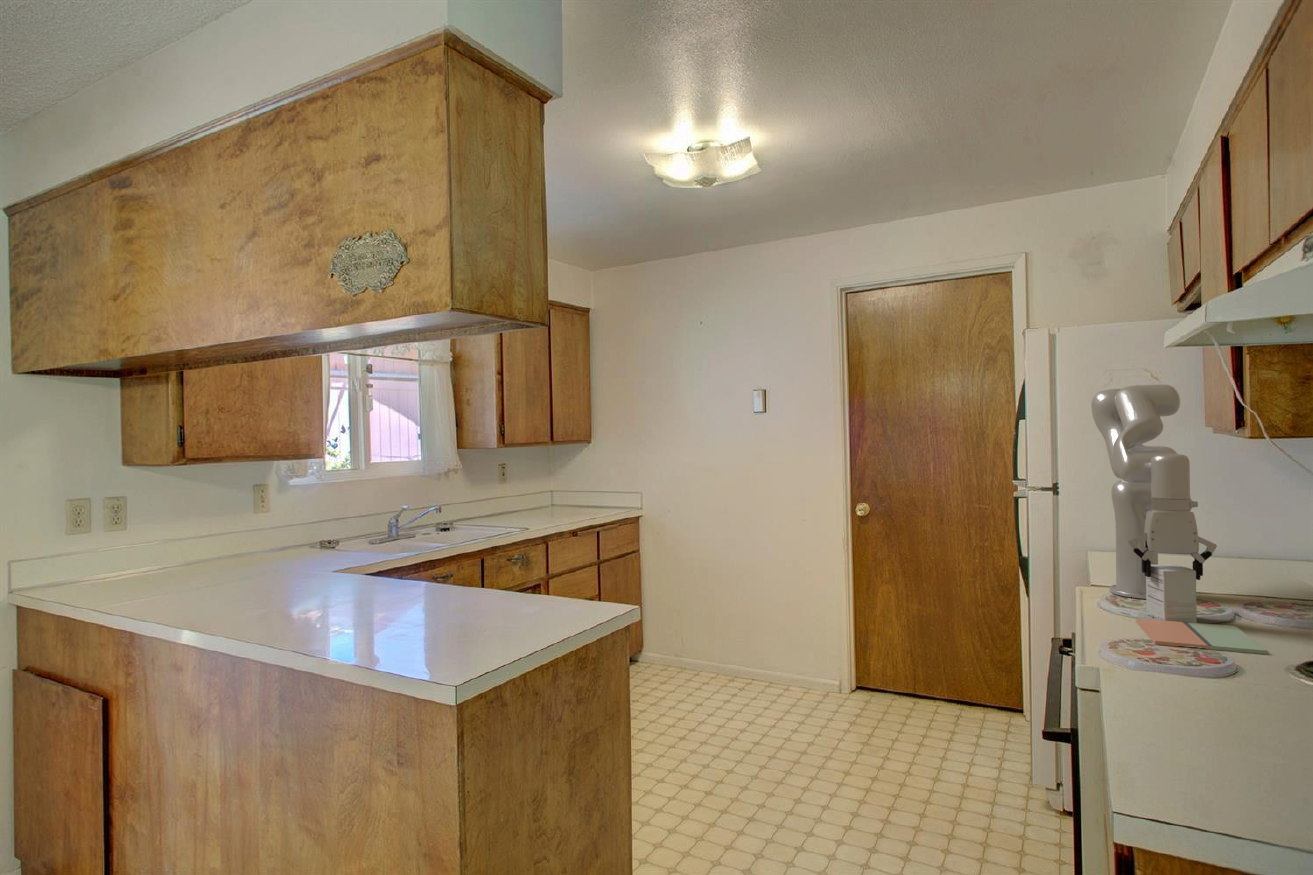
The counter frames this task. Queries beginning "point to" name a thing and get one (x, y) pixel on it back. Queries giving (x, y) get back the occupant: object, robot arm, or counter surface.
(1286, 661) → the counter surface
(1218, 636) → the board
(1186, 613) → the supplement box
